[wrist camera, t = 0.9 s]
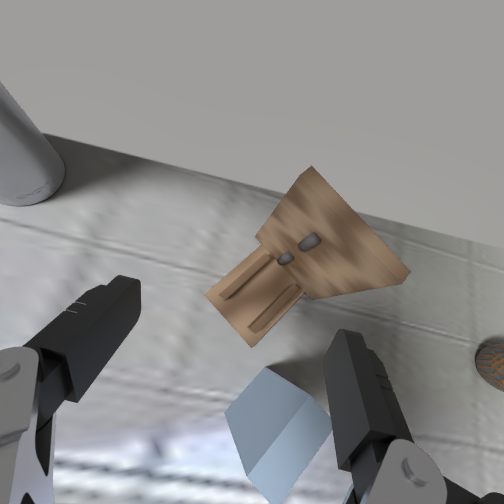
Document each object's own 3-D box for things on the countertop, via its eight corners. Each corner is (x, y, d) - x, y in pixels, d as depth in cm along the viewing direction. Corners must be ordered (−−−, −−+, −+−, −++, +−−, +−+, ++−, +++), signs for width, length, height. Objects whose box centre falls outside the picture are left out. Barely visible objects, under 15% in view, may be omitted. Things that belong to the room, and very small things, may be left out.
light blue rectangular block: (224, 412, 30) (246, 476, 17) (265, 366, 32) (310, 394, 20) (241, 432, 30) (275, 510, 17) (280, 384, 32) (336, 424, 20)
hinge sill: (196, 286, 33) (201, 253, 17) (261, 231, 37) (311, 165, 21) (258, 356, 32) (321, 388, 17) (316, 293, 36) (410, 271, 21)
